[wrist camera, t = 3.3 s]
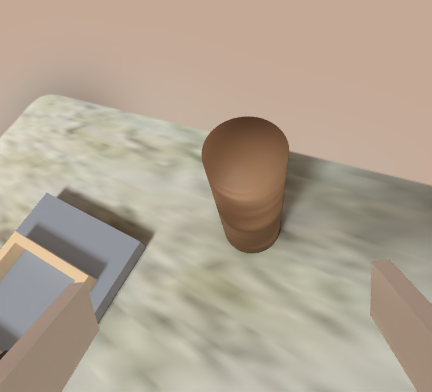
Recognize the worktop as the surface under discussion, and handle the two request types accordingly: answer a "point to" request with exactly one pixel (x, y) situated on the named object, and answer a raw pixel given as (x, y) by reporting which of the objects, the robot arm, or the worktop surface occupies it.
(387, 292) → the robot arm
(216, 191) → the post
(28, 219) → the board
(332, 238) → the worktop surface
